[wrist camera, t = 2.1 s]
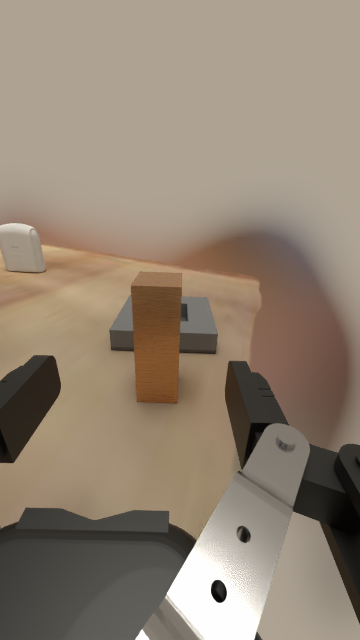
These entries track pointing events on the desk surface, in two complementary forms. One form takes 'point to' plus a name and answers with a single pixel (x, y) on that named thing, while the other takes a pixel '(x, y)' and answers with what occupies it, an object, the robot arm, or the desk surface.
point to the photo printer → (21, 248)
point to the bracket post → (156, 335)
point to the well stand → (194, 327)
